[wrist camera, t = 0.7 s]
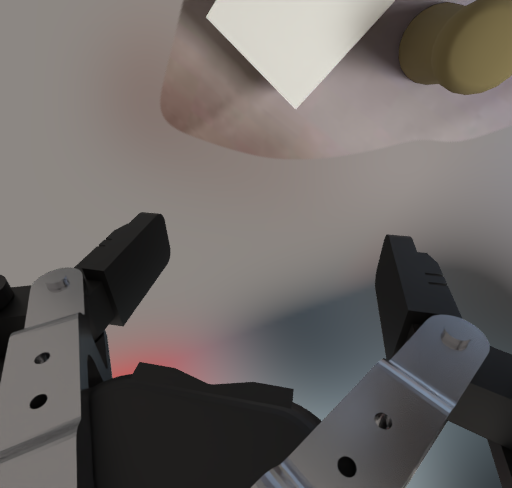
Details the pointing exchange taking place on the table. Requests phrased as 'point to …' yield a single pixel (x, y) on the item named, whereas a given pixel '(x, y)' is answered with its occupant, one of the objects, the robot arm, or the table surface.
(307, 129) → the table surface
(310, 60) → the podium
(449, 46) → the cork
